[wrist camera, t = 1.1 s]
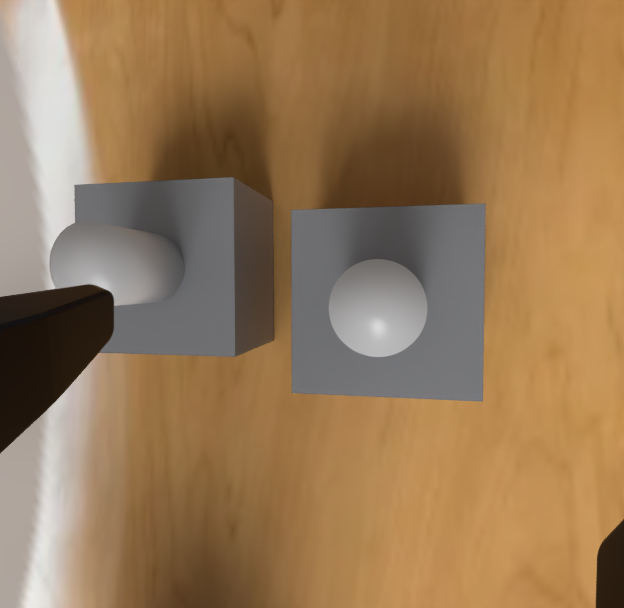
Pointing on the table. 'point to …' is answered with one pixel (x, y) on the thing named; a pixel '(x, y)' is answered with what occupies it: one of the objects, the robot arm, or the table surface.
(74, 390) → the table surface
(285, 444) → the table surface
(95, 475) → the table surface
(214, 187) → the hood
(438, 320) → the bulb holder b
